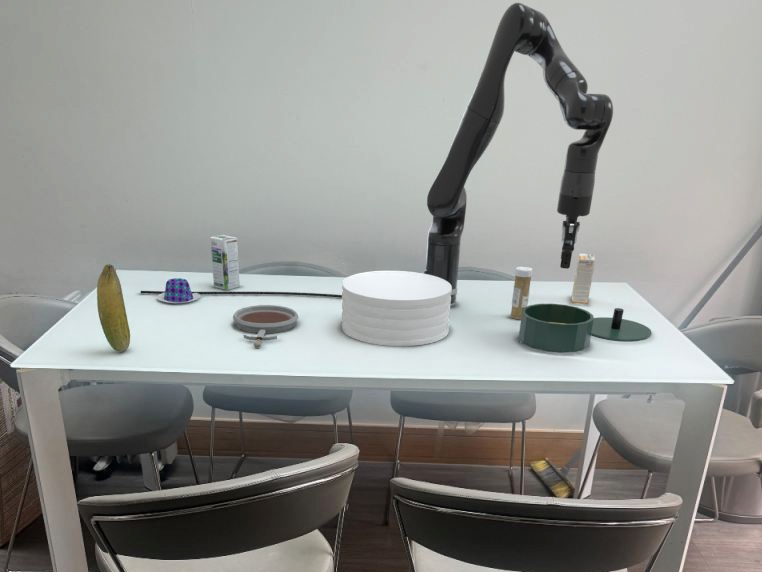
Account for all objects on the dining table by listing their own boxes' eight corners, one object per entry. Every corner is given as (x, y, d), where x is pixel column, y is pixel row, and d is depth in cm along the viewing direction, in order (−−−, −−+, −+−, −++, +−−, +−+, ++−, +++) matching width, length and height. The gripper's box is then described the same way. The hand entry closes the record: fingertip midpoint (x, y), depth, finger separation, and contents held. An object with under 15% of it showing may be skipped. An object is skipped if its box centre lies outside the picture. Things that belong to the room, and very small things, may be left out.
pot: (516, 350, 189) (520, 320, 185) (520, 328, 204) (524, 300, 200) (589, 357, 186) (594, 327, 182) (587, 335, 201) (592, 307, 197)
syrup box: (213, 287, 228) (208, 236, 220) (227, 283, 232) (223, 233, 225) (226, 290, 225) (223, 239, 218) (240, 286, 229) (237, 236, 222)
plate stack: (324, 335, 193) (323, 290, 187) (366, 307, 216) (367, 265, 210) (428, 352, 185) (431, 306, 179) (461, 321, 207) (465, 278, 201)
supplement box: (587, 305, 224) (595, 260, 217) (571, 304, 225) (578, 258, 218) (587, 298, 231) (594, 253, 224) (571, 296, 232) (578, 252, 225)
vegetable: (124, 357, 176) (111, 269, 165) (99, 355, 177) (84, 267, 166) (136, 348, 181) (124, 262, 170) (111, 346, 182) (98, 260, 171)
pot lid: (579, 339, 198) (583, 316, 194) (578, 318, 213) (582, 296, 210) (653, 346, 195) (659, 323, 192) (647, 324, 210) (652, 302, 207)
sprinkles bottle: (527, 320, 210) (534, 270, 203) (511, 319, 210) (517, 270, 203) (524, 315, 214) (530, 266, 207) (508, 314, 214) (514, 265, 207)
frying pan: (220, 338, 182) (237, 302, 206) (221, 350, 184) (238, 313, 207) (292, 340, 183) (300, 304, 206) (292, 352, 184) (301, 314, 208)
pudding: (206, 295, 221) (205, 276, 218) (190, 306, 211) (188, 287, 208) (167, 291, 222) (165, 273, 220) (149, 303, 212) (147, 284, 209)
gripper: (560, 186, 183) (549, 255, 191) (559, 195, 171) (548, 269, 179) (592, 188, 181) (580, 258, 190) (593, 198, 169) (580, 272, 178)
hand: (564, 263), depth 184 cm, fingers open, 8 cm apart
